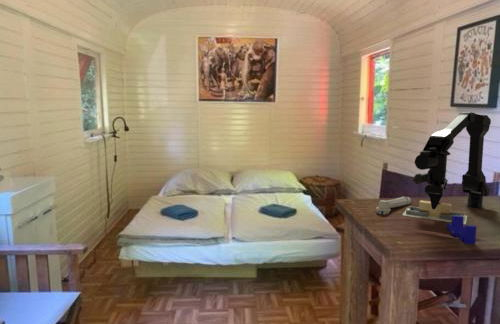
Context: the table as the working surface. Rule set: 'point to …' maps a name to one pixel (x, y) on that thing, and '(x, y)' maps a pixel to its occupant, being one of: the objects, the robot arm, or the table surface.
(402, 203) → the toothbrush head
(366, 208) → the table surface
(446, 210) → the link bar
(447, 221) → the base board
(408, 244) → the table surface
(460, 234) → the cable clip
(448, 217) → the chain end links
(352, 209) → the table surface
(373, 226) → the table surface
